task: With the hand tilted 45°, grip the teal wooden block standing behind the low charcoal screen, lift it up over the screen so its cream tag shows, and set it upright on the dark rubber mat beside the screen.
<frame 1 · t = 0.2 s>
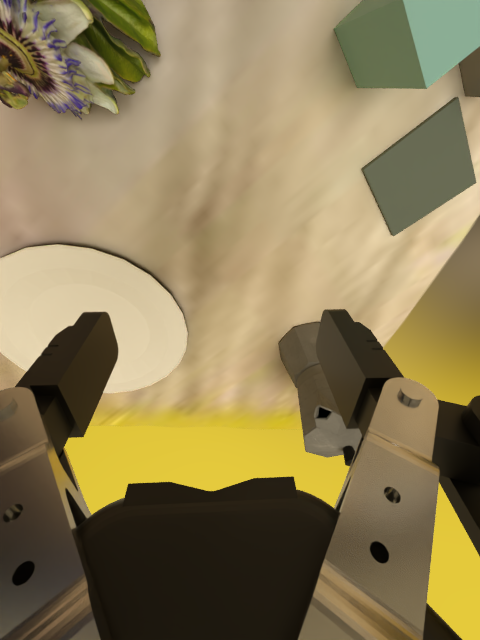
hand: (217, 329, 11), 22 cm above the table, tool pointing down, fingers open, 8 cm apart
mat: (419, 175, 29), on the table
coffeepot: (309, 347, 44), on the table
plate: (94, 326, 39), on the table
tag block: (372, 35, 22), on the table
passion flower: (67, 19, 21), on the table
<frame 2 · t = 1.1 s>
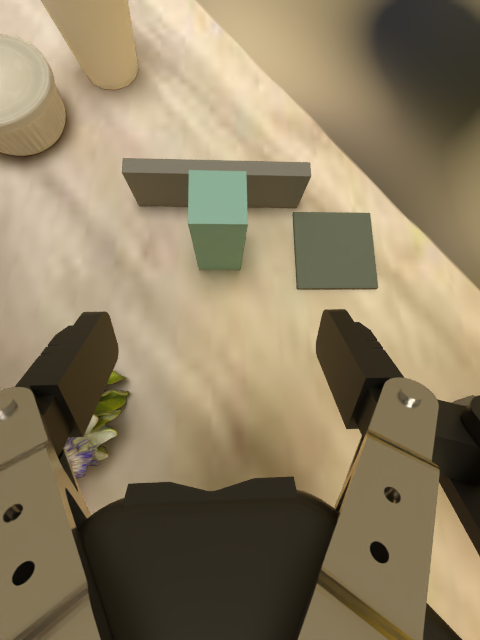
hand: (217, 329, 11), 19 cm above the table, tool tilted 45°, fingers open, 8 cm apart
mat: (333, 250, 33), on the table
screen: (219, 200, 33), on the table
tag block: (219, 250, 32), on the table
ramekin: (27, 124, 34), on the table
passion flower: (71, 417, 28), on the table
foam cup: (112, 69, 35), on the table
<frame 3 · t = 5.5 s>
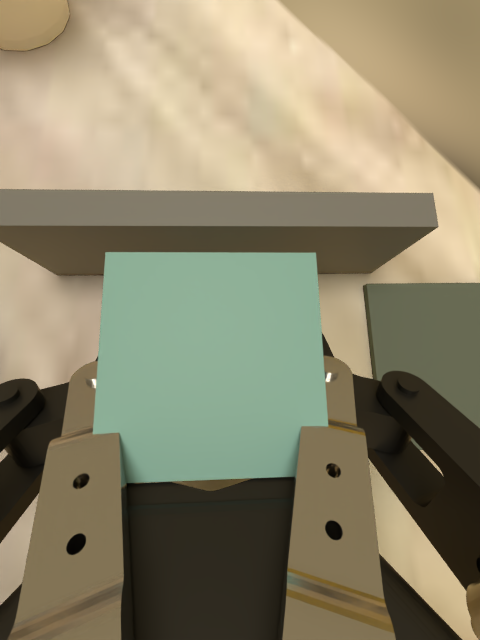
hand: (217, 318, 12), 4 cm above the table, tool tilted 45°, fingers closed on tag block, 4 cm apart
mat: (448, 361, 16), on the table
screen: (218, 261, 17), on the table
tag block: (220, 367, 16), on the table, touching gripper
foam cup: (23, 16, 19), on the table
when the fingers open (6 cm above the table, at t = 11.1 s): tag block drops 1 cm, resting on mat.
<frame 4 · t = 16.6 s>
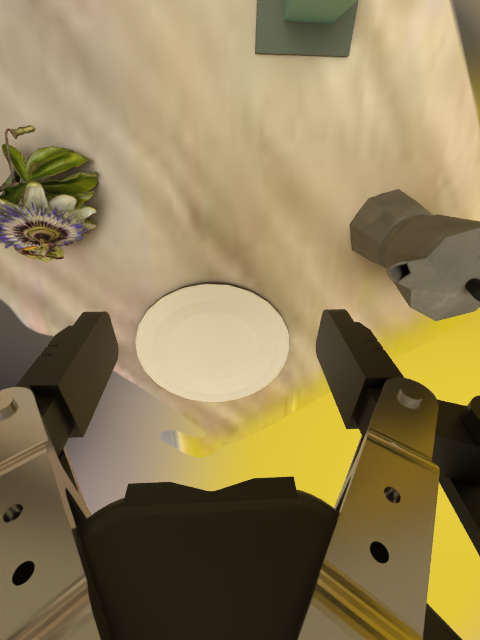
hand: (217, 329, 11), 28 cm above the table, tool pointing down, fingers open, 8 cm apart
coffeepot: (390, 227, 38), on the table
plate: (214, 345, 48), on the table
passion flower: (55, 194, 34), on the table
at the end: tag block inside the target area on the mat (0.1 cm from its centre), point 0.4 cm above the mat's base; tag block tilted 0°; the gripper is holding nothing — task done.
